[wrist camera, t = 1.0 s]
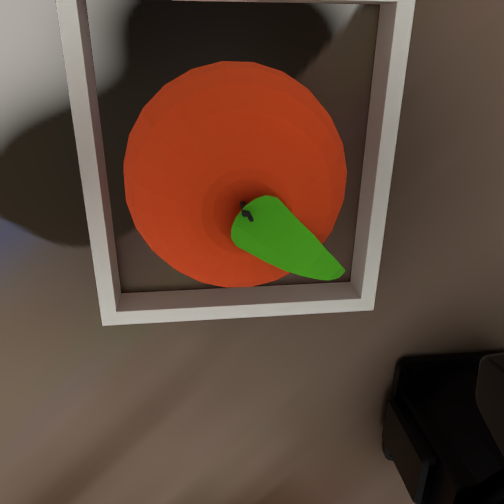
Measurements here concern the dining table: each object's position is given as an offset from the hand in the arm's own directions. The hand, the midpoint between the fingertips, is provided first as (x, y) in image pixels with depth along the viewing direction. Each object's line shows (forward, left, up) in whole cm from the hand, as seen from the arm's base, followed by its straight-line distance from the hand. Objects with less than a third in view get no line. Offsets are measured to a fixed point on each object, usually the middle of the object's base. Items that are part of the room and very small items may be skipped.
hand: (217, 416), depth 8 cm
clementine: (-1, -1, -12) cm, 12 cm away
